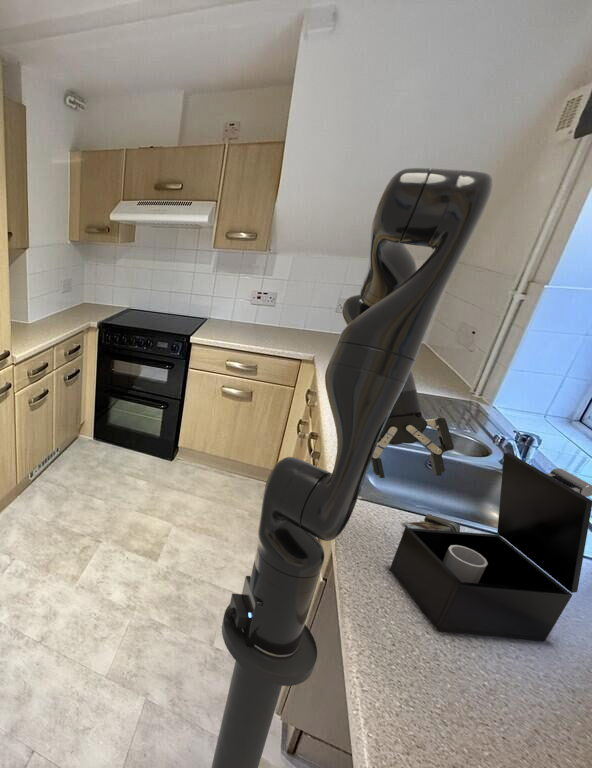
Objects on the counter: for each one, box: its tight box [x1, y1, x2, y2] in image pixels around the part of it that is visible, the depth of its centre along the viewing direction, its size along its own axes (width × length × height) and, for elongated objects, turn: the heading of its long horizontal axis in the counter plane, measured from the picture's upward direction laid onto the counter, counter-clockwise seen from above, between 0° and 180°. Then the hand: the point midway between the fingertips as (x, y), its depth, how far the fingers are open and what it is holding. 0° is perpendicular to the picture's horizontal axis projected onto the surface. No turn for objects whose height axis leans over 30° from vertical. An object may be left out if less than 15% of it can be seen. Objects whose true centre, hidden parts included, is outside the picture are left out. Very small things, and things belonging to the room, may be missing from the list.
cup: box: [443, 545, 488, 583], centre depth 75 cm, size 5×5×8 cm
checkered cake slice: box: [405, 513, 461, 532], centre depth 89 cm, size 10×7×12 cm
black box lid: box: [497, 452, 592, 594], centre depth 67 cm, size 17×14×5 cm
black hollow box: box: [389, 527, 573, 642], centre depth 73 cm, size 17×14×10 cm
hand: (409, 476), depth 77 cm, fingers open, 8 cm apart
